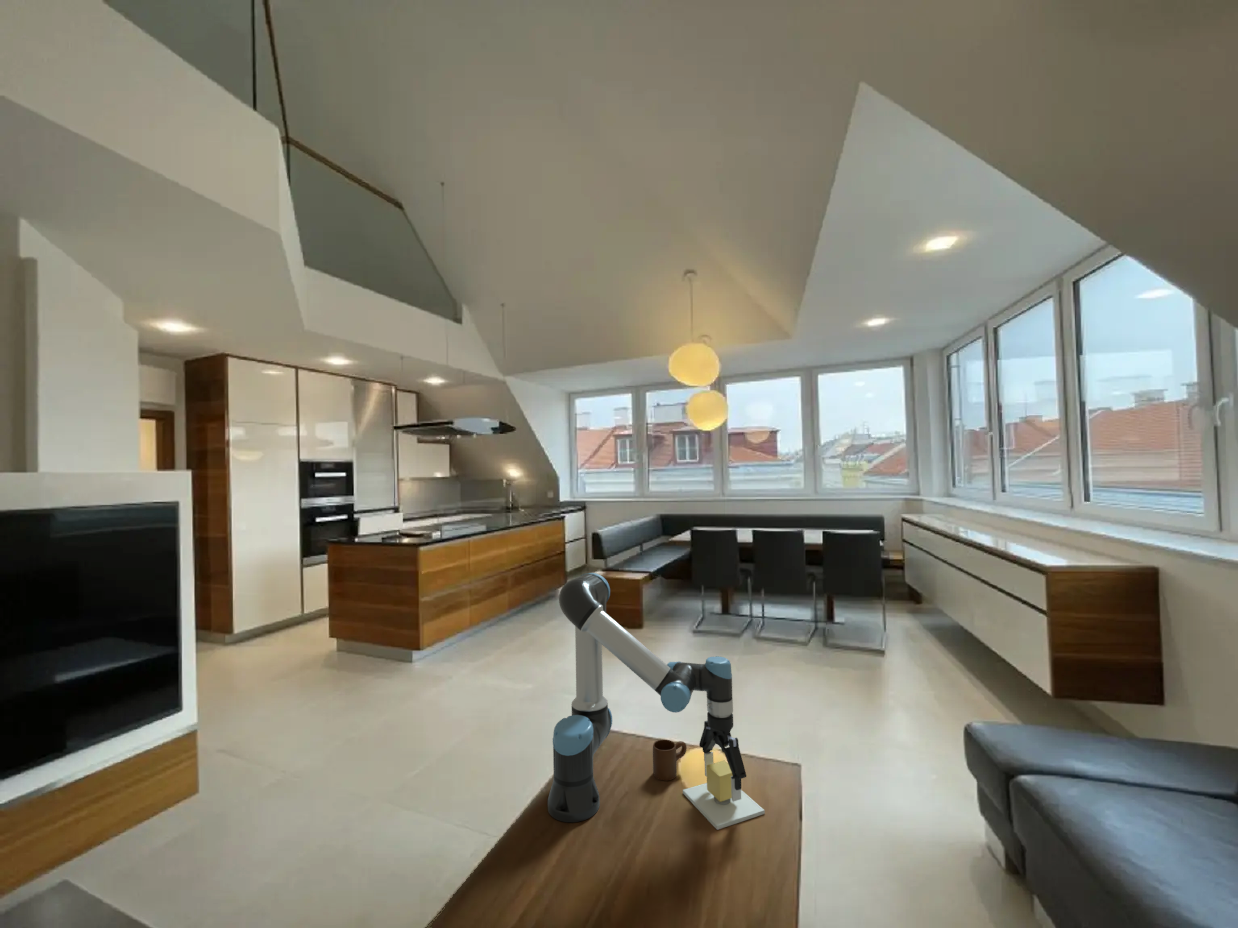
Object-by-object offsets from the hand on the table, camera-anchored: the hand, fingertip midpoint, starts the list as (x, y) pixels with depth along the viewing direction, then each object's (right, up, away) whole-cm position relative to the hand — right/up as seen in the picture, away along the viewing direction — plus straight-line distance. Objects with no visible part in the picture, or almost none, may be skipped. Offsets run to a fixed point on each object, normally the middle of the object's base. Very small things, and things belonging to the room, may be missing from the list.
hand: (722, 786), depth 147 cm
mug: (-13, -6, +16) cm, 22 cm away
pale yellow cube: (0, -2, 0) cm, 2 cm away
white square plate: (0, -5, 0) cm, 5 cm away
